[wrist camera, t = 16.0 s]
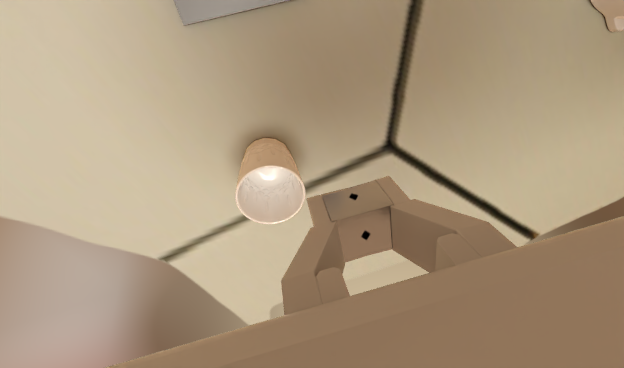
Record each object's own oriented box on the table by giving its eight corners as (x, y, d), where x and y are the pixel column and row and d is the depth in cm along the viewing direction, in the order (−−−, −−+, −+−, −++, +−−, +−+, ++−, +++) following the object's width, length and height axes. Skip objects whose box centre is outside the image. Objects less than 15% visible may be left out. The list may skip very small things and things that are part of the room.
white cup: (249, 125, 37) (247, 156, 29) (303, 143, 40) (316, 177, 32) (232, 174, 41) (226, 215, 32) (283, 188, 43) (290, 230, 35)
